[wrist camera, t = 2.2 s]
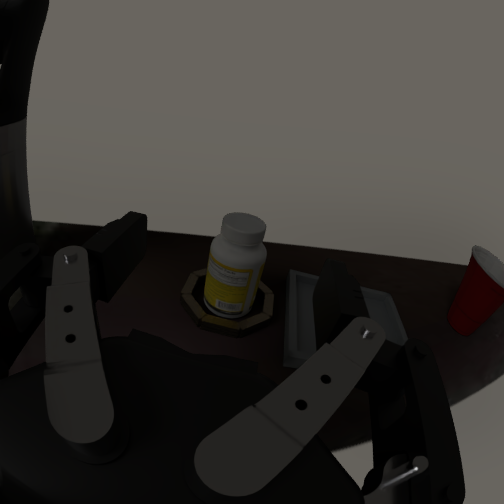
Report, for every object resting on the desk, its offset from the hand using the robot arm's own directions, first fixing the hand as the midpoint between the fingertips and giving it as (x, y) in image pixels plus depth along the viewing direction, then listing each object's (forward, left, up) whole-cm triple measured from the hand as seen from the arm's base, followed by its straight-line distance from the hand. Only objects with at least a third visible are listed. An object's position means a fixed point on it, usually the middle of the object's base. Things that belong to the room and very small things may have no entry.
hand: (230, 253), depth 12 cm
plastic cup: (+37, +18, -14) cm, 43 cm away
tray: (+14, +13, -14) cm, 24 cm away
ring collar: (0, +13, -14) cm, 19 cm away
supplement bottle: (0, +13, -14) cm, 19 cm away
